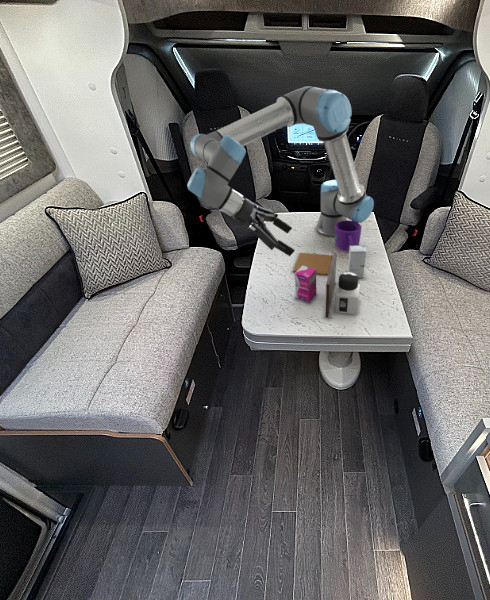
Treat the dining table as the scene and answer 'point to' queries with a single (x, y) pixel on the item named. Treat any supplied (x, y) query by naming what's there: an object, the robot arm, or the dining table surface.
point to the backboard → (330, 284)
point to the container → (347, 293)
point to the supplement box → (305, 284)
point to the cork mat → (314, 262)
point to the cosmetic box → (357, 260)
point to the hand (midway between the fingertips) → (290, 241)
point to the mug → (347, 234)
